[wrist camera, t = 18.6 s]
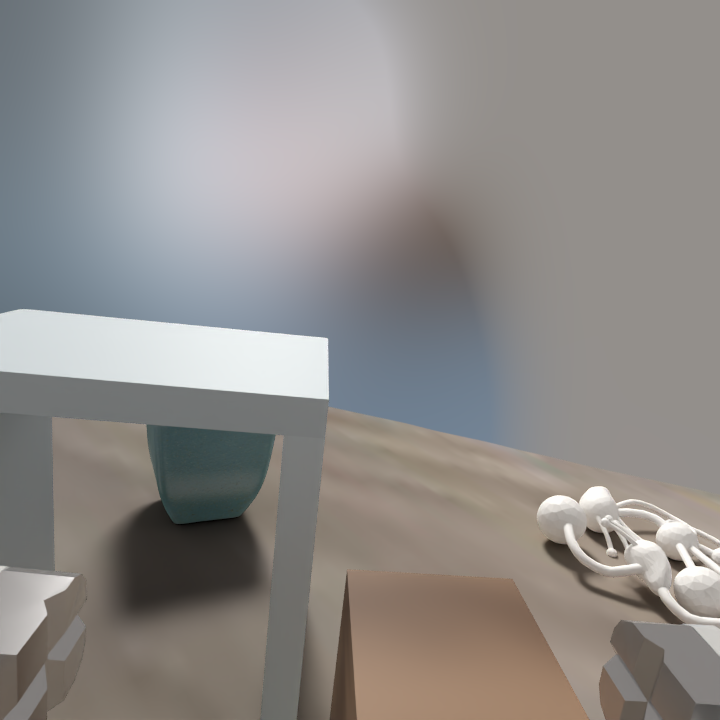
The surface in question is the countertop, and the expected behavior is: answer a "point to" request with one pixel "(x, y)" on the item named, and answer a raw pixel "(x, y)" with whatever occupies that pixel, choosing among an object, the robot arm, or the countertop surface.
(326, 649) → the countertop surface
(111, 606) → the countertop surface
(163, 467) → the flower pot
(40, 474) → the tunnel
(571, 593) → the countertop surface
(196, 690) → the countertop surface
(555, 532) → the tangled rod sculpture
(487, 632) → the walnut block
